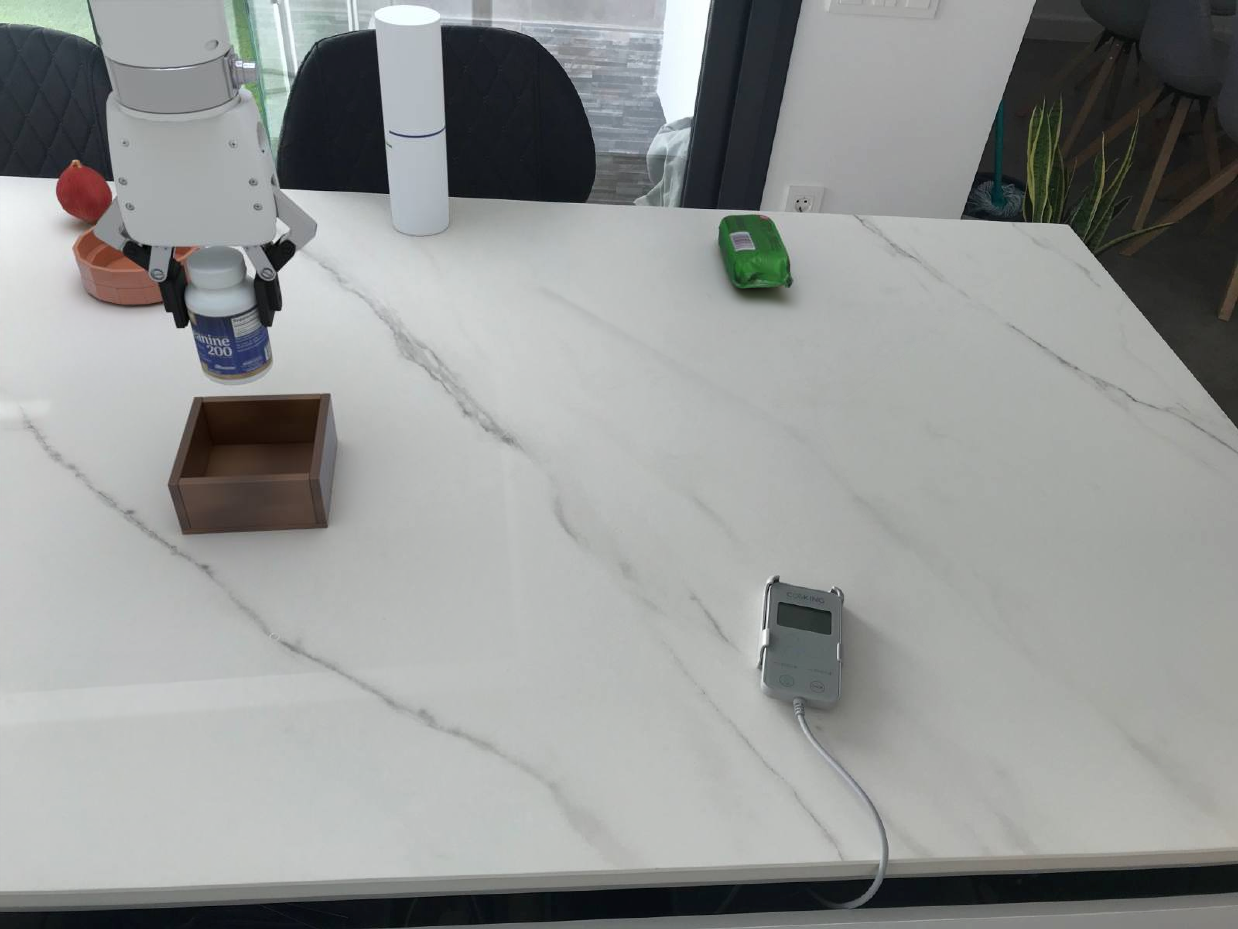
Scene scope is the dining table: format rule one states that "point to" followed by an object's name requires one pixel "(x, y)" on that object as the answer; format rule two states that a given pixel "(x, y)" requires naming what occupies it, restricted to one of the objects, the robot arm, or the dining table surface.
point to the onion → (83, 192)
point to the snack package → (754, 252)
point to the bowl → (118, 271)
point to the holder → (255, 463)
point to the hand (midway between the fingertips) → (227, 315)
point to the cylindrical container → (413, 117)
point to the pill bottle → (226, 317)
